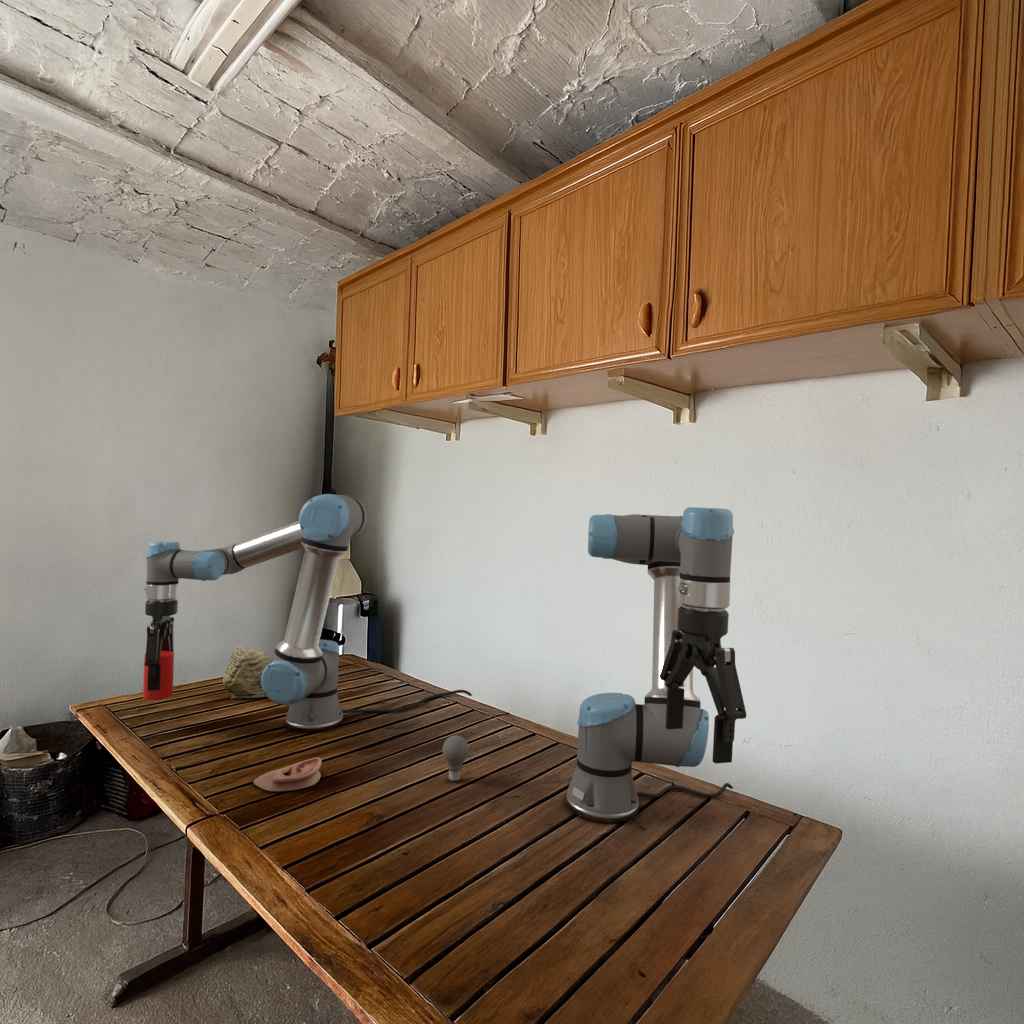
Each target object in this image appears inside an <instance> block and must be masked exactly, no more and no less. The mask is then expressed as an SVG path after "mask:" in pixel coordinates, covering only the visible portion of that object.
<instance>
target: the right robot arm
mask: <svg viewBox="0 0 1024 1024" xmlns="http://www.w3.org/2000/svg"><path fill="white" fill-rule="evenodd" d="M734 534H735V529H734V514H733V511H732V510H731V509H728V508H718V507H717V508H715V507H693V506H690V507H686V508H685V509H684V510H683V514H682V515H678V516H677V515H674V516H673V515H657V514H656V515H653V514H652V515H651V514H637V513H636V514H635V513H634V514H633V513H632V514H624V515H620V514H619V515H617V514H611V513H610V514H609V513H606V514H593V515H591V516H590V518H589V521H588V535H587V553H588V555H589V556H590V557H593V558H598V559H599V558H601V559H604V560H614V561H617V562H621V563H625V564H631V565H639V566H647V575H648V576H649V577H650V578H651V579H652V580H653V617H652V618H653V622H652V625H653V626H652V629H653V630H652V666H651V667H652V669H651V671H652V674H651V675H652V676H651V689H650V690H649V691H648V692H647V693H646V694H645V695H644V704H642V703H641V704H640V703H636V700H635V697H633V696H632V695H631V694H628V693H622V692H602V693H597V694H593V695H590V696H588V697H586V698H584V699H583V700H582V701H581V703H580V706H579V713H578V714H579V715H578V719H577V725H578V731H577V732H578V733H577V750H576V767H575V769H574V772H573V775H572V778H571V780H570V782H569V786H568V788H567V791H566V798H565V799H566V801H565V802H566V806H567V807H568V808H567V809H569V811H571V812H572V813H574V815H577V816H578V817H581V818H583V819H585V820H589V821H592V822H596V823H603V824H604V823H605V824H618V823H624V822H627V821H630V820H632V819H633V818H635V817H636V816H638V813H639V808H640V806H639V805H640V800H639V797H643V798H644V797H645V798H651V799H656V798H660V797H661V796H663V795H664V794H665V793H666V792H667V791H671V790H675V791H676V790H677V791H682V792H687V793H690V794H693V795H695V796H699V797H703V798H708V799H709V798H717V797H720V796H721V795H722V794H723V793H724V792H725V790H726V789H727V788H728V789H731V790H732V789H734V787H733V785H731V784H730V783H729V782H726V783H725V782H724V784H723V785H722V787H721V788H720V789H719V791H717V792H715V793H706V792H701V791H697V790H695V789H691V788H689V787H685V786H681V785H669V786H665V787H664V788H663V789H661V790H660V791H659V792H657V793H648V792H640V791H637V789H636V785H635V781H634V777H633V773H632V771H633V770H632V767H633V766H632V765H633V762H635V763H643V764H651V765H662V766H671V767H672V766H673V767H676V768H680V767H685V768H686V767H687V768H696V767H698V766H699V765H700V764H701V763H702V762H703V760H704V757H705V753H706V750H707V746H708V745H707V744H708V738H709V730H710V722H709V720H710V715H709V712H708V710H706V709H704V708H701V699H700V698H699V697H698V696H697V694H695V692H694V668H696V669H697V670H699V671H700V674H701V675H702V676H704V677H705V680H706V683H707V687H708V689H709V692H710V694H711V698H712V701H713V703H714V706H715V709H716V712H717V714H716V715H715V716H714V721H713V722H714V723H713V742H712V743H713V744H712V760H711V761H712V762H713V763H714V764H728V763H732V762H733V746H734V741H735V732H736V720H742V719H743V720H744V719H746V718H747V711H746V706H745V702H744V697H743V692H742V688H741V684H740V679H739V675H738V670H737V666H736V650H735V648H734V647H722V643H721V642H722V641H721V639H722V638H723V637H725V636H726V635H728V633H729V616H730V613H729V612H728V610H727V608H729V607H730V603H731V570H732V569H731V568H732V554H733V553H732V552H733V538H734Z"/></svg>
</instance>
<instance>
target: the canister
mask: <svg viewBox="0 0 1024 1024" xmlns="http://www.w3.org/2000/svg"><path fill="white" fill-rule="evenodd" d="M145 658H146V653H145V654H144V656H143V661H144V662H143V680H142V681H143V685H142V698H143V699H144V700H148V701H158V700H159V701H160V700H165V699H169V698H171V697H172V696H173V695H174V672H175V671H174V670H175V669H174V666H175V652H174V651H173V652H172V651H161V655H160V662H159V665H161V673H160V690H148V666H145V665H144V663H145Z"/></svg>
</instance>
